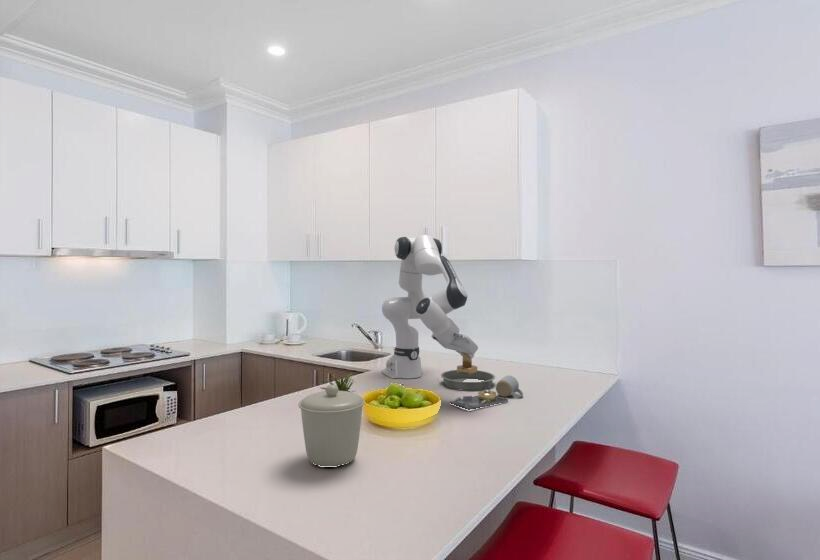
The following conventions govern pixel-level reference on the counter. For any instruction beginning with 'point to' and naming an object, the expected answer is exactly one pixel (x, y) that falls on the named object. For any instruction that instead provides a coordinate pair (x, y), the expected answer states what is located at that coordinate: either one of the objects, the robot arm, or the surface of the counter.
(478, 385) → the cake pan
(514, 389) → the ceramic mug
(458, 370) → the brass joystick knob
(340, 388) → the house plant
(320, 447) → the canister
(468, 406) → the carrier plate
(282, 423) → the counter surface
